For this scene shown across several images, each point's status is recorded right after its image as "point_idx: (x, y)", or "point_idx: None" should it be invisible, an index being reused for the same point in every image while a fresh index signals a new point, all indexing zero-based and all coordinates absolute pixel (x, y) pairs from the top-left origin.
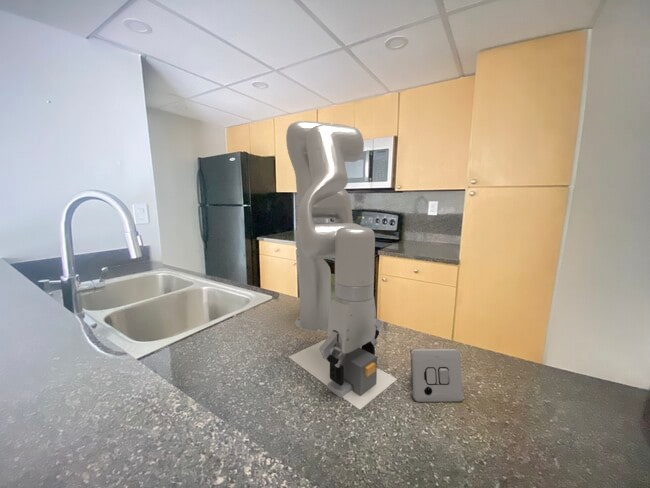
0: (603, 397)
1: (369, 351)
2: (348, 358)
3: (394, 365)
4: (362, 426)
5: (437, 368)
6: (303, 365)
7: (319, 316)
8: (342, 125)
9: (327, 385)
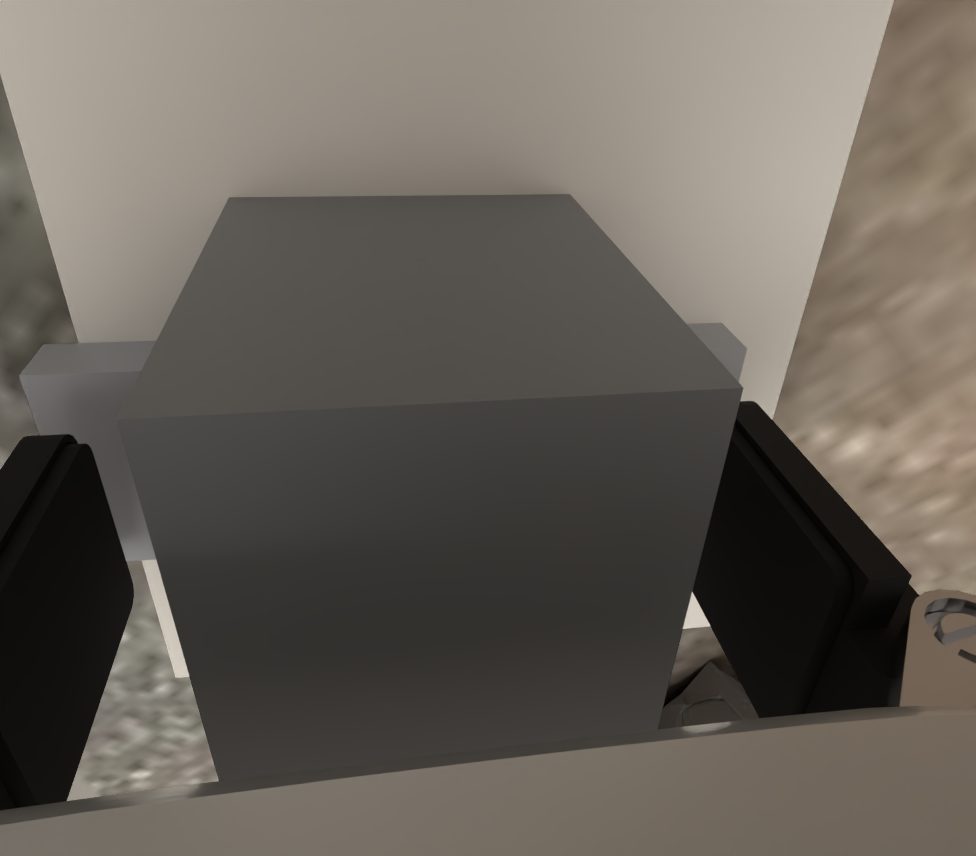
0: None
1: (756, 646)
2: (251, 775)
3: (939, 443)
4: (140, 689)
5: None
6: None
7: None
8: None
9: (30, 361)
